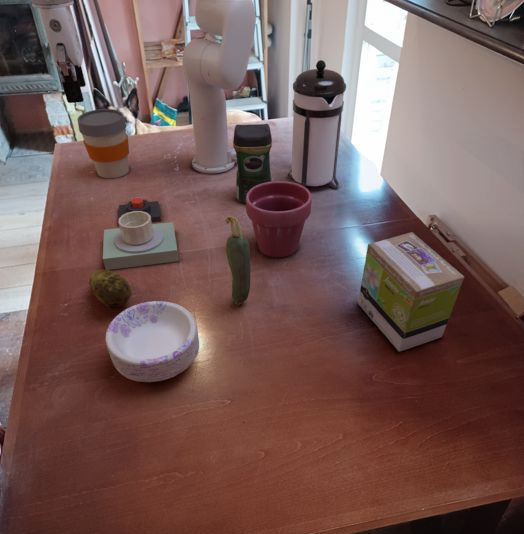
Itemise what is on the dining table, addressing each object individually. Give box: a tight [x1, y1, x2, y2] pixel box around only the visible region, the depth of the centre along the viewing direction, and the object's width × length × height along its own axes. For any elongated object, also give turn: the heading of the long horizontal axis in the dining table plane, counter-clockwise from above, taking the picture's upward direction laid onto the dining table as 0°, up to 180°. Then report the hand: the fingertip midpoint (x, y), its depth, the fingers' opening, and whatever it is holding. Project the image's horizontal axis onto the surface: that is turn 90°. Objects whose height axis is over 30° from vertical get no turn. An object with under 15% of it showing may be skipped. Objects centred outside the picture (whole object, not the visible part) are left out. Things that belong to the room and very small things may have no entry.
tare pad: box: [118, 199, 162, 223], centre depth 120 cm, size 10×8×3 cm
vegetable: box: [225, 215, 252, 306], centre depth 89 cm, size 4×4×20 cm
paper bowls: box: [104, 300, 200, 383], centre depth 83 cm, size 15×15×8 cm
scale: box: [102, 221, 180, 271], centre depth 109 cm, size 16×12×4 cm
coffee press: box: [287, 59, 347, 190], centre depth 123 cm, size 17×16×30 cm
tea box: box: [357, 231, 465, 353], centre depth 87 cm, size 15×10×15 cm, turn 23°
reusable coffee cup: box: [77, 108, 130, 179], centre depth 133 cm, size 13×13×15 cm
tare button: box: [130, 197, 144, 208], centre depth 118 cm, size 3×3×2 cm
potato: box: [88, 268, 132, 310], centre depth 95 cm, size 8×13×8 cm, turn 12°
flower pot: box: [245, 180, 312, 258], centre depth 106 cm, size 14×14×13 cm
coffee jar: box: [232, 123, 273, 204], centre depth 120 cm, size 10×8×19 cm
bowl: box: [118, 211, 154, 245], centre depth 106 cm, size 7×7×5 cm
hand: (77, 94), depth 102 cm, fingers open, 9 cm apart
